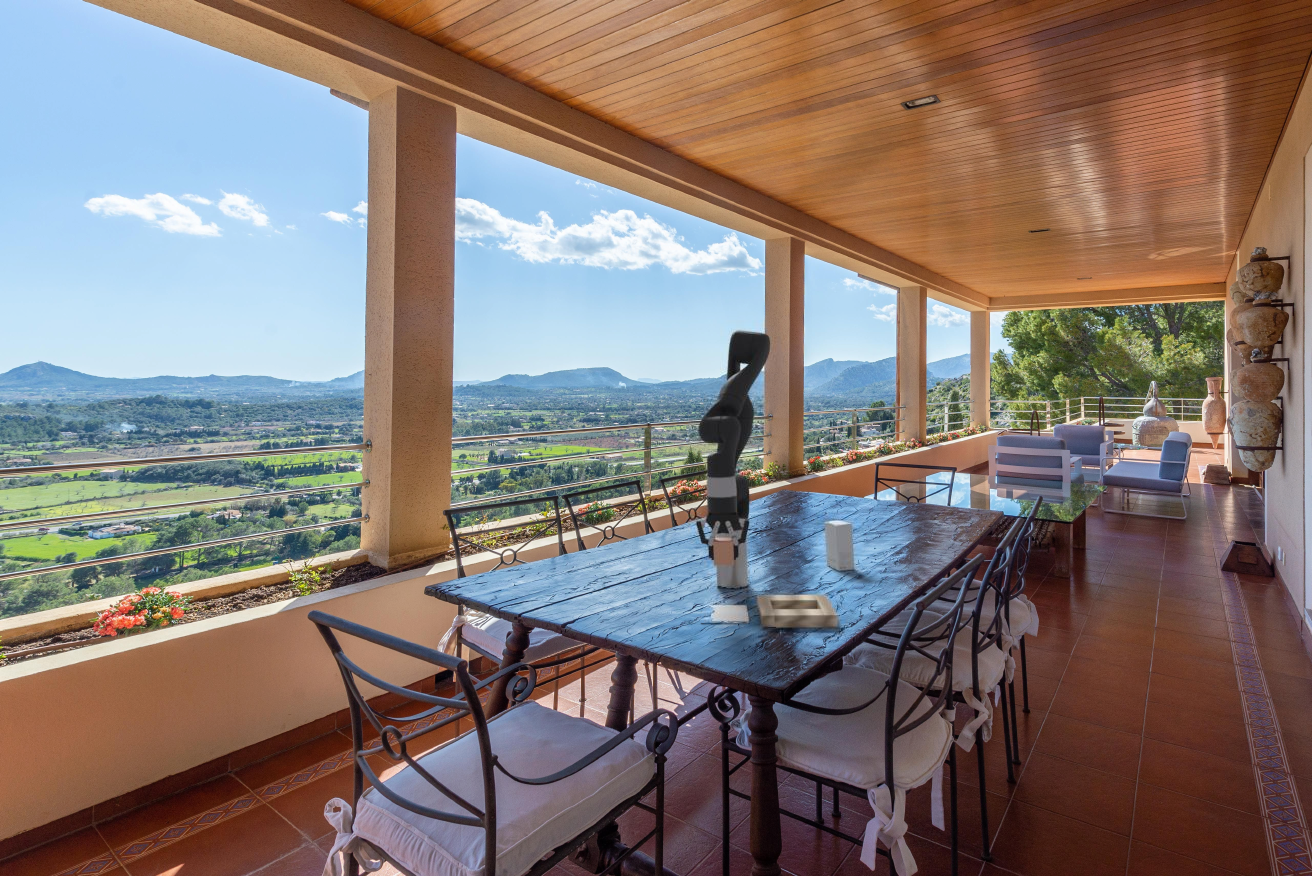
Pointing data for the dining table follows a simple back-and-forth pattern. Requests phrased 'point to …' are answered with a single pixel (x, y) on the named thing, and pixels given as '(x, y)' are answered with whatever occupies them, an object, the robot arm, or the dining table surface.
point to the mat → (730, 613)
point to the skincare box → (839, 545)
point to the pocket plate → (796, 611)
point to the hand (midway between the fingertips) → (723, 559)
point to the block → (723, 551)
